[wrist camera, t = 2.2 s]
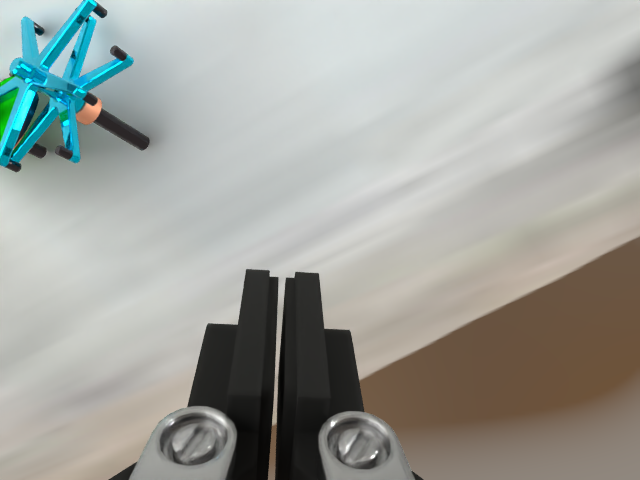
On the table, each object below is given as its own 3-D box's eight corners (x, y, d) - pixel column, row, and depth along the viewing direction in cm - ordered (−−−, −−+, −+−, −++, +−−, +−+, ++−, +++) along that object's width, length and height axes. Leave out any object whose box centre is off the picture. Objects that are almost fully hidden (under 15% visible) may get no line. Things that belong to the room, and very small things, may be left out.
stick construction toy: (91, -52, 21) (73, 104, 18) (205, 53, 26) (206, 185, 23) (-75, 68, 26) (-113, 206, 23) (52, 134, 31) (35, 252, 28)
